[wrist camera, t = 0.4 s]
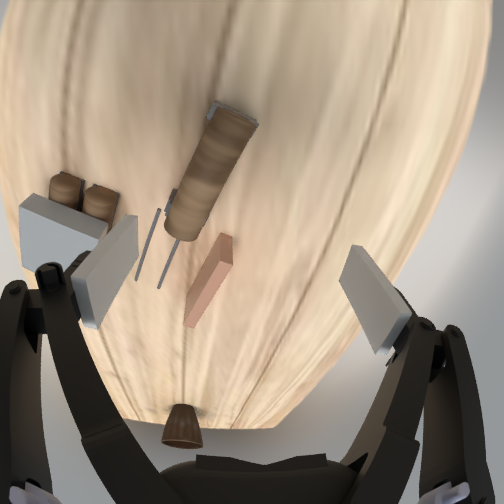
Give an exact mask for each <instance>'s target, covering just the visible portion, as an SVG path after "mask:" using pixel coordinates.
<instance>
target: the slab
mask: <svg viewBox="0 0 504 504" xmlns="http://www.w3.org/2000/svg"><path fill="white" fill-rule="evenodd" d="M108 224H109V223H106V222H104V221H101V220H99V219H96V218H94V217H91V216H89V215H86V214H84V213H81V212H79V211H76V210H74V209H71V208H69V207H66V206H64V205H61V204H59V203H56V202H54V201H52V200H49V199H47V198H44V197H42V196H40V195H37V194H35V193H33V194H31V195H30V196H29V197H28V198H27V199H26V200H25V201H24V202H23V203H22V204H20V205H19V232H20V248H21V259H22V267H24V268H26V269H28V270H30V271H32V272H34V273H35V271H36V269H37V268H38V267H39V266H41V265H42V264H45V263H48V262H57V263H59V264H61V266H62V268H63V272H64V271H65V270H66V269H67V268H68V267H69V266H70V264H71V263H72V262H73V261H74V260H75V259H76V258H77V256H78V255H79V254H81V253H83V252H85V251H86V250H89V251H92V250H93V249H94V248H95V247H96V246H97V245H98V244H99V243H100V241H101V240H102V239H103V238H104V237H105V236H106V234H107V229H108Z"/></svg>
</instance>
